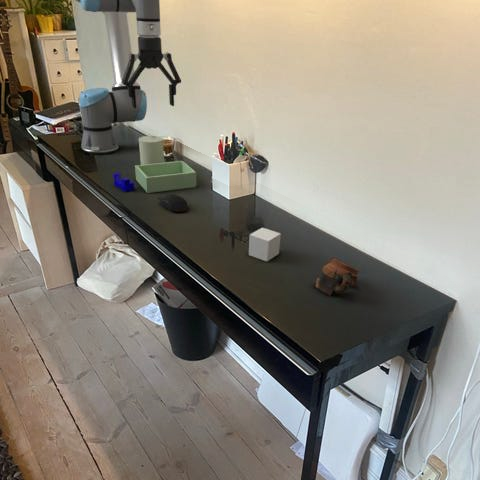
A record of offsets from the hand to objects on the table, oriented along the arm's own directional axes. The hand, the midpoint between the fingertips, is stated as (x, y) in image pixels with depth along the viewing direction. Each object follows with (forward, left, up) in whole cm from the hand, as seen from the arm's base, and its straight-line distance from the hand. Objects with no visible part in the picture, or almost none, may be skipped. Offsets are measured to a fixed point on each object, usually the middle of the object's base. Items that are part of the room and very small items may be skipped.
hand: (153, 106), depth 170 cm
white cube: (+74, +7, -24) cm, 78 cm away
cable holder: (+10, -15, -24) cm, 30 cm away
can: (-5, 0, -24) cm, 25 cm away
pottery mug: (+97, +15, -24) cm, 101 cm away
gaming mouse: (+32, -5, -24) cm, 40 cm away
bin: (+11, 0, -24) cm, 26 cm away
